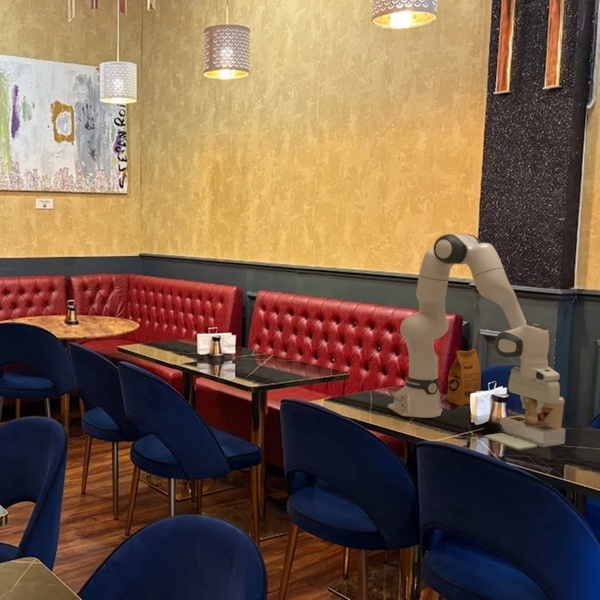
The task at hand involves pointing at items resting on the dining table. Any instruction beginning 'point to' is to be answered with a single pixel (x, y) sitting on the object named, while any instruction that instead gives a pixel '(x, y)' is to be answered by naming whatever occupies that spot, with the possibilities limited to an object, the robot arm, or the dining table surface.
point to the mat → (510, 441)
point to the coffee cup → (552, 413)
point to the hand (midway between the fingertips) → (531, 410)
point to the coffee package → (464, 377)
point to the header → (533, 431)
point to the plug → (531, 412)
